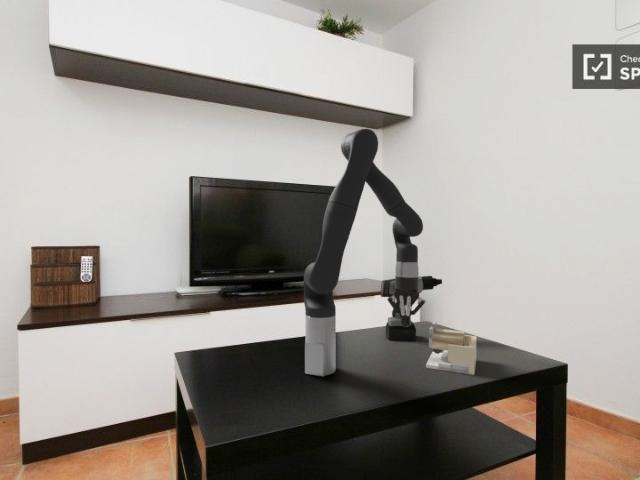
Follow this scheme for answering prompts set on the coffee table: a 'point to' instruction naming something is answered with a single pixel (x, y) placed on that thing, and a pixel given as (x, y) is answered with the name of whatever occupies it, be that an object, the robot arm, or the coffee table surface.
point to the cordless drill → (394, 323)
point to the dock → (456, 357)
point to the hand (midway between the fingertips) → (405, 326)
